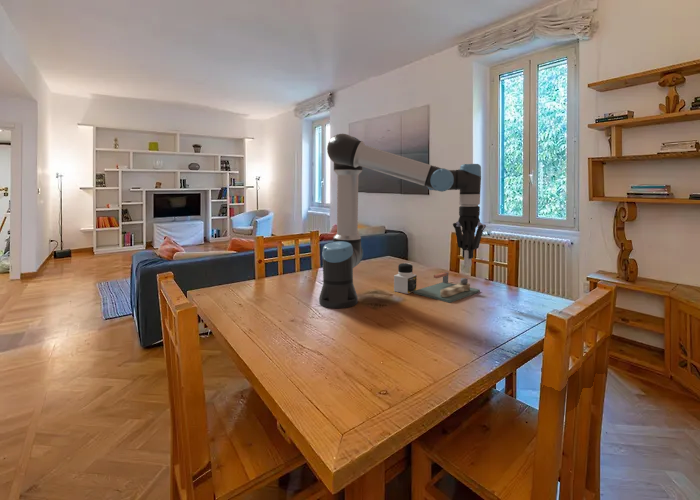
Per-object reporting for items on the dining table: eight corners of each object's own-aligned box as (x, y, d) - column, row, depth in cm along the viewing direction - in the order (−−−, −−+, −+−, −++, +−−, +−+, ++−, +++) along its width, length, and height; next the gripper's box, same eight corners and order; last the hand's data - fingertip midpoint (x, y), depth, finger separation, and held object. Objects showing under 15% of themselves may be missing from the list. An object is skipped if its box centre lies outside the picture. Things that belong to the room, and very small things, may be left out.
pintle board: (449, 302, 148) (450, 287, 147) (413, 293, 162) (413, 279, 161) (479, 291, 163) (480, 278, 162) (444, 283, 176) (444, 271, 175)
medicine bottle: (407, 294, 160) (408, 266, 158) (393, 291, 165) (393, 264, 163) (416, 290, 166) (417, 263, 164) (402, 287, 170) (402, 261, 168)
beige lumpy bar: (461, 287, 165) (461, 281, 164) (472, 289, 161) (472, 284, 161) (436, 295, 153) (436, 289, 153) (447, 298, 150) (447, 292, 149)
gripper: (490, 205, 142) (488, 267, 146) (460, 204, 152) (458, 262, 156) (479, 206, 137) (477, 270, 141) (449, 205, 147) (447, 265, 151)
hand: (467, 266), depth 149 cm, fingers closed
